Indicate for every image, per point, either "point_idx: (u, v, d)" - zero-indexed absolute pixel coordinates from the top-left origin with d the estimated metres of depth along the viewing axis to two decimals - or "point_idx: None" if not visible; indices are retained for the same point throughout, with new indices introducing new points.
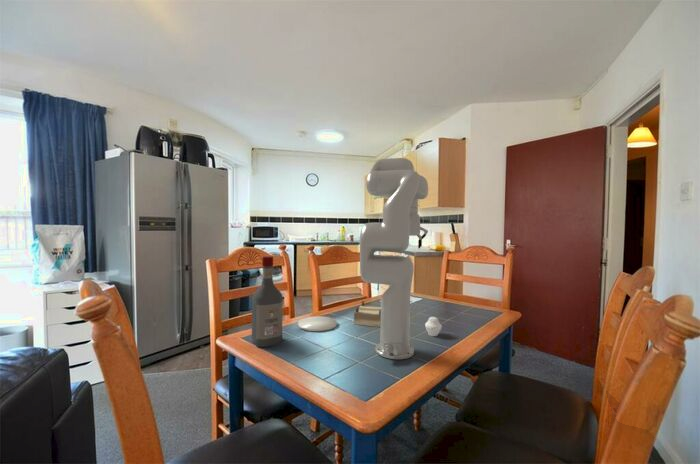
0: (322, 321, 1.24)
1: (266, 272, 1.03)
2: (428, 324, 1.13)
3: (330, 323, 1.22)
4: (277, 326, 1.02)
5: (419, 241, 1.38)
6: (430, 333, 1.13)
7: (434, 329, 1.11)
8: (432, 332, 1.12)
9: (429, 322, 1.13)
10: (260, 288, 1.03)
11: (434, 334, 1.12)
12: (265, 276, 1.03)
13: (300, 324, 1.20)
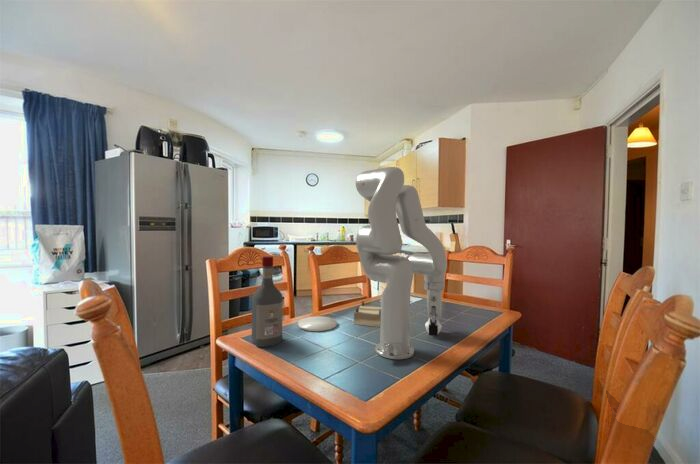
0: (322, 321, 1.24)
1: (266, 272, 1.03)
2: (428, 324, 1.13)
3: (330, 323, 1.22)
4: (277, 326, 1.02)
5: None
6: None
7: None
8: None
9: None
10: (260, 288, 1.03)
11: None
12: (265, 276, 1.03)
13: (300, 324, 1.20)
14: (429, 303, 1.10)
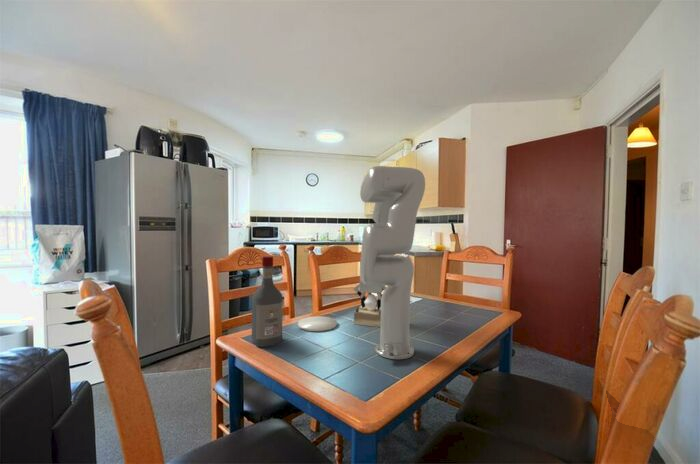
0: (322, 321, 1.24)
1: (266, 272, 1.03)
2: (366, 300, 1.27)
3: (330, 323, 1.22)
4: (277, 326, 1.02)
5: None
6: (368, 308, 1.27)
7: (370, 304, 1.26)
8: (369, 307, 1.27)
9: (367, 298, 1.28)
10: (260, 288, 1.03)
11: (371, 309, 1.27)
12: (265, 276, 1.03)
13: (300, 324, 1.20)
14: None
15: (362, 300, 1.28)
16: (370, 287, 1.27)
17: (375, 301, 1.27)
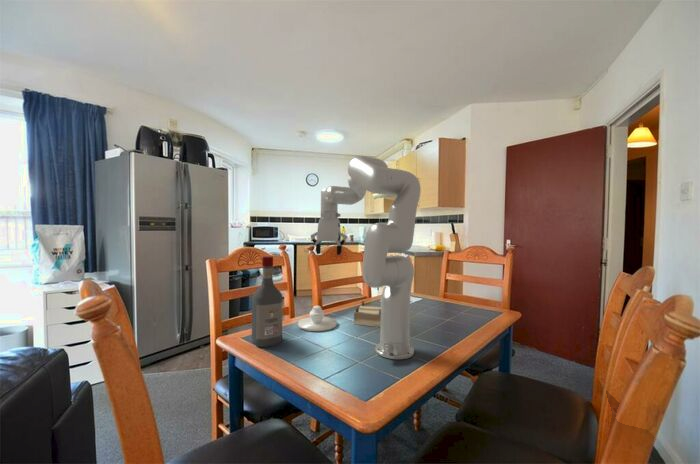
0: (322, 321, 1.24)
1: (266, 272, 1.03)
2: (311, 312, 1.22)
3: (330, 323, 1.22)
4: (277, 326, 1.02)
5: None
6: (313, 320, 1.22)
7: (315, 317, 1.20)
8: (314, 319, 1.21)
9: (312, 310, 1.22)
10: (260, 288, 1.03)
11: (316, 321, 1.21)
12: (265, 276, 1.03)
13: (300, 324, 1.20)
14: (337, 229, 1.31)
15: (316, 247, 1.34)
16: (327, 235, 1.32)
17: (320, 313, 1.21)
